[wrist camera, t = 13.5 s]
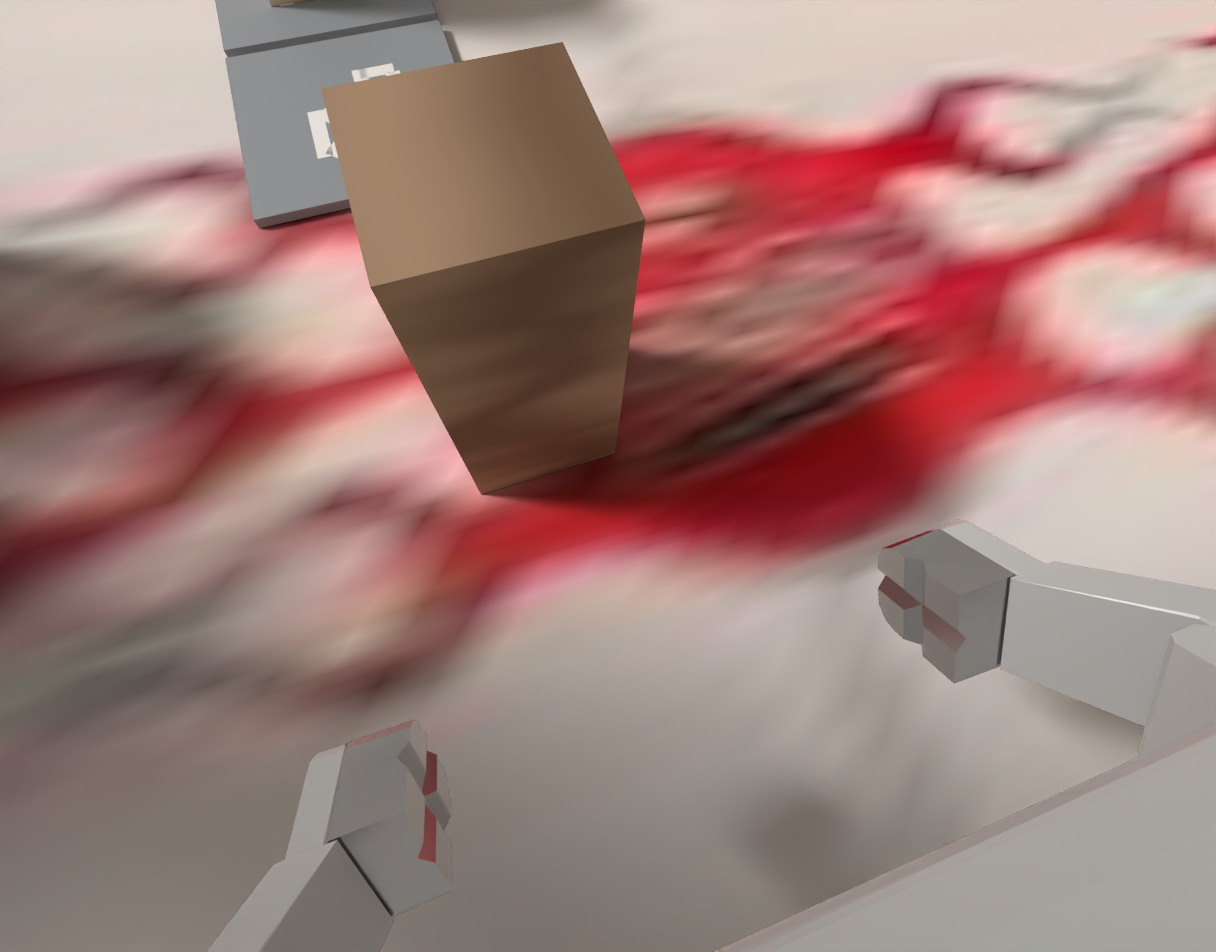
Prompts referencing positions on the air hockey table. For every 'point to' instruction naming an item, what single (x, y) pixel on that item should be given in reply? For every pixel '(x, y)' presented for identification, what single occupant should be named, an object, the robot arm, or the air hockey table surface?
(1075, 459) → the air hockey table surface
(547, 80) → the walnut block
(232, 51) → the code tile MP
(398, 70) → the grey square tile
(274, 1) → the birch block
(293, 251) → the air hockey table surface
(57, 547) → the air hockey table surface
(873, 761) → the air hockey table surface
